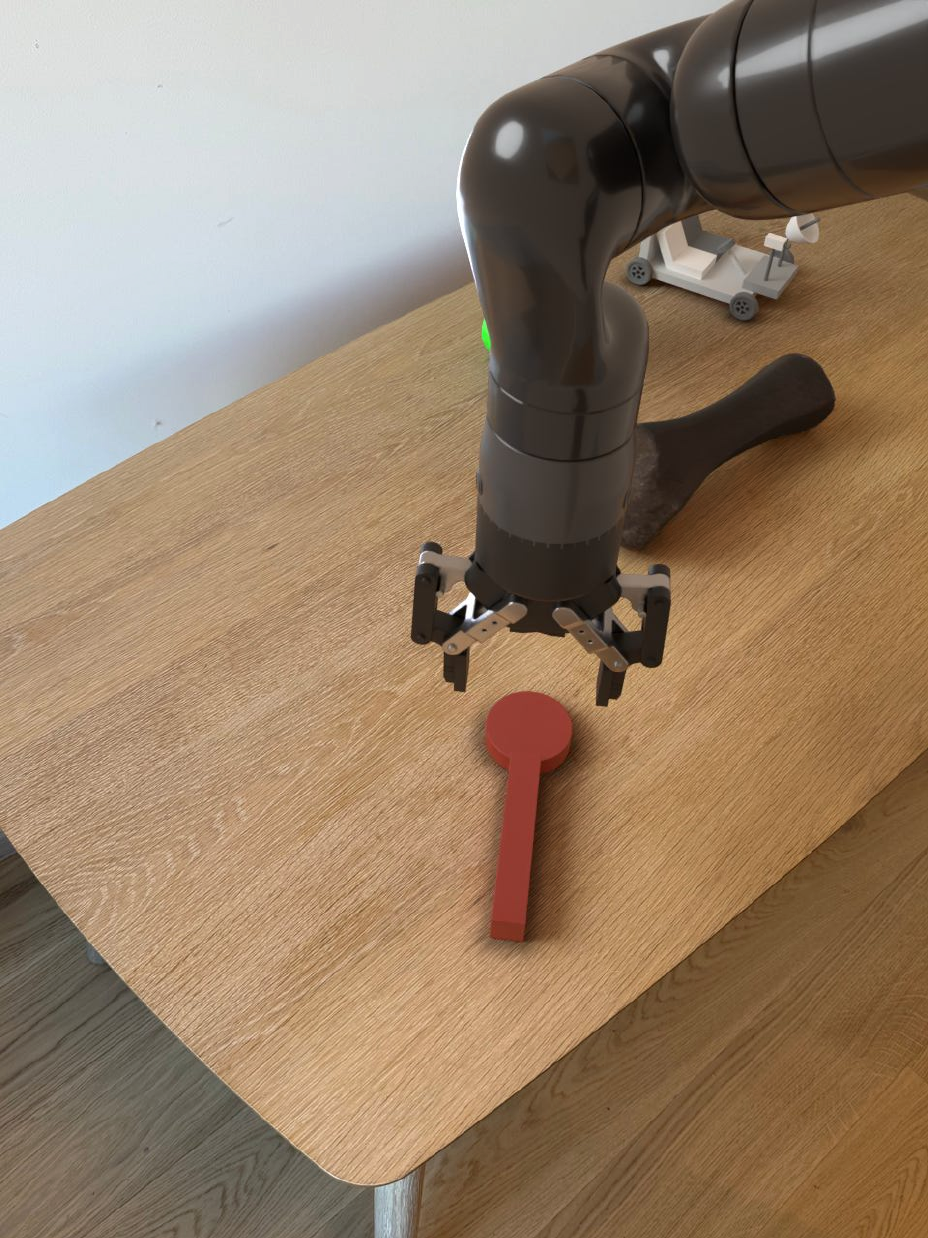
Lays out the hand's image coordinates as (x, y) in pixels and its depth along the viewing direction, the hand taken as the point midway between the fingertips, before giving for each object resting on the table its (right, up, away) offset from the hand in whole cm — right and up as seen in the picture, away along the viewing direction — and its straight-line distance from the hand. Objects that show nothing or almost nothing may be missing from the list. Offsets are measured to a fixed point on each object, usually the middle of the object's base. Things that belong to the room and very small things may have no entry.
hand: (530, 688), depth 67 cm
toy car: (+25, +42, +57) cm, 75 cm away
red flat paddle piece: (0, -10, +12) cm, 15 cm away
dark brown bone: (+17, +18, +36) cm, 44 cm away
